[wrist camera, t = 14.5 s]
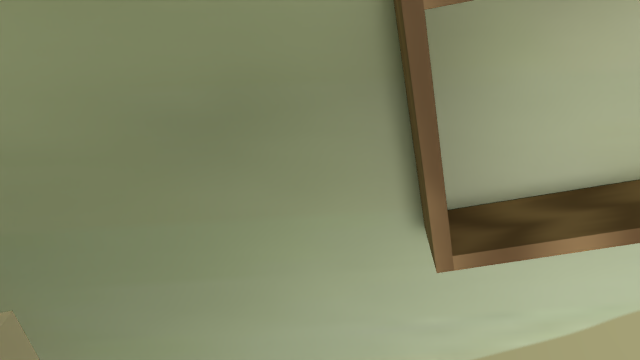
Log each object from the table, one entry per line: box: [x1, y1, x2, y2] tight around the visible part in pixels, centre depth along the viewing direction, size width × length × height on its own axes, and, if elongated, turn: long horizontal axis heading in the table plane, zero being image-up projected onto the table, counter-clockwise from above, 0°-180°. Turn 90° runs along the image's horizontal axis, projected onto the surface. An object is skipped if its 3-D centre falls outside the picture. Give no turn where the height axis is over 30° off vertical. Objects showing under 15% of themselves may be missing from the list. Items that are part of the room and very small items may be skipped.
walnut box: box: [394, 0, 640, 273], centre depth 33 cm, size 22×16×5 cm
